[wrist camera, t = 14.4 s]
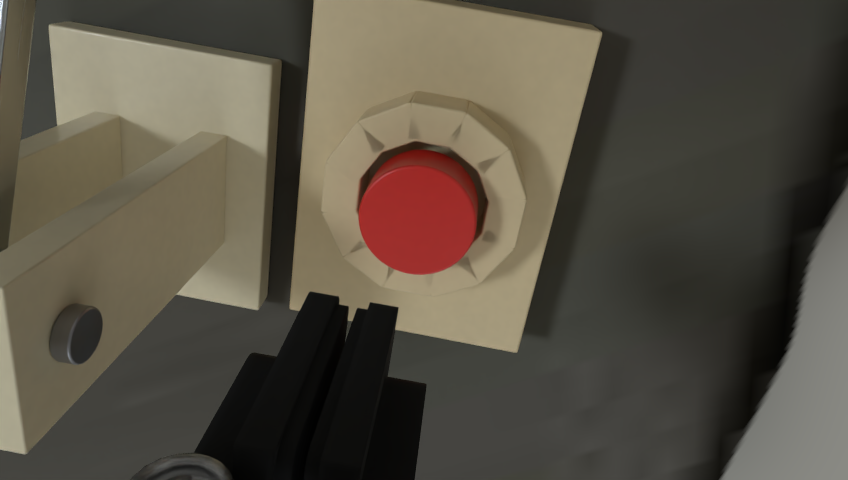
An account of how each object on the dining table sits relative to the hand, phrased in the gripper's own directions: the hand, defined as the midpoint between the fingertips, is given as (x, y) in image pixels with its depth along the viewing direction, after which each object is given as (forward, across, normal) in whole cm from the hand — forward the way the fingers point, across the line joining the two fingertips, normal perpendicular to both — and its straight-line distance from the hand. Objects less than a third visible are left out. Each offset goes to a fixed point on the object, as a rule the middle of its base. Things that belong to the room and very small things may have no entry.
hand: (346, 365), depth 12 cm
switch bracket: (+13, +9, +2) cm, 16 cm away
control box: (+13, -1, 0) cm, 13 cm away
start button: (+10, -1, 0) cm, 10 cm away
